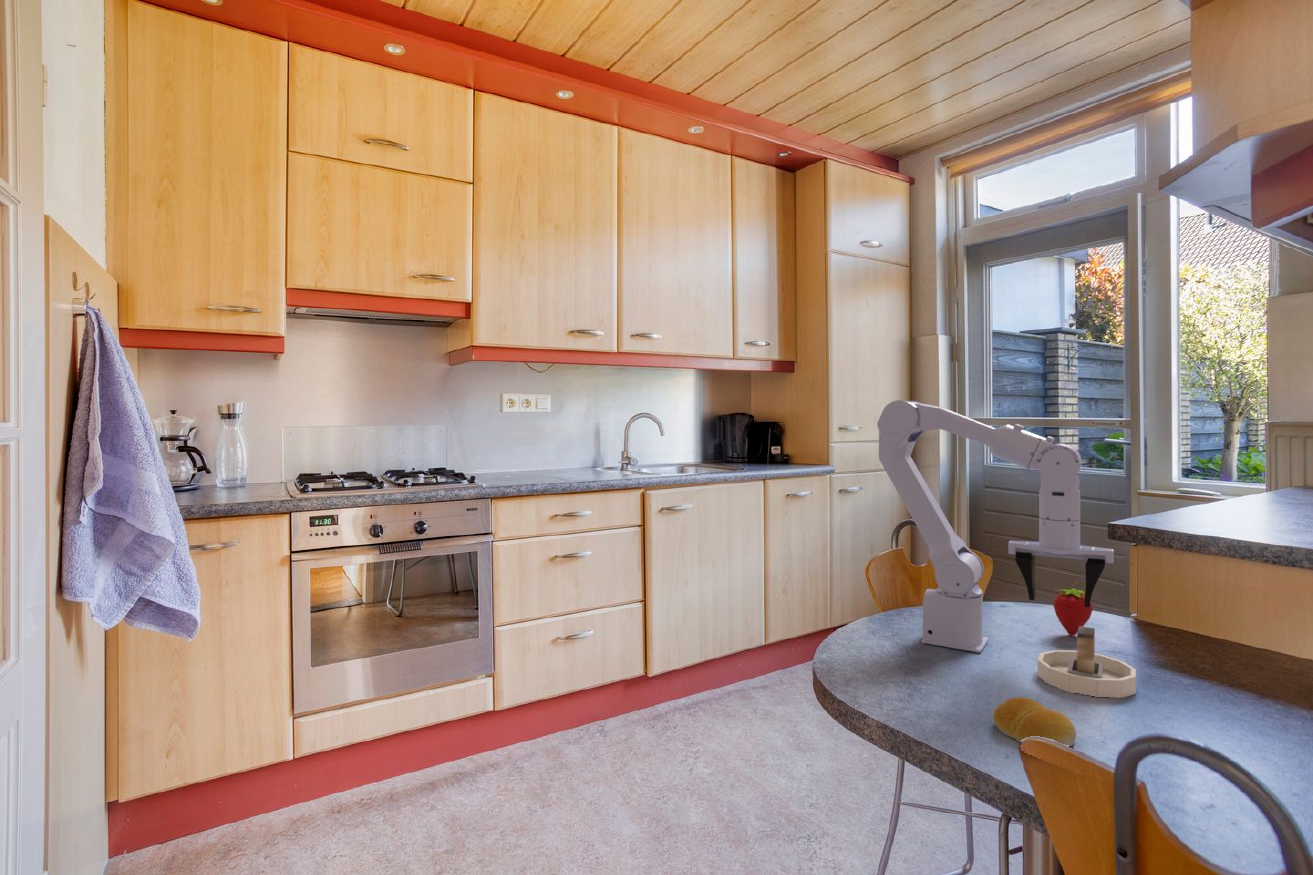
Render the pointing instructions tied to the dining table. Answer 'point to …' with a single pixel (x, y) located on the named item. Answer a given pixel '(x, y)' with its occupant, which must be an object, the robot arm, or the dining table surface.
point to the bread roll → (1033, 721)
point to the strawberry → (1072, 609)
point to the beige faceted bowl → (1087, 675)
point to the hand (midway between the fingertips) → (1059, 602)
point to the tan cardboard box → (1086, 650)
